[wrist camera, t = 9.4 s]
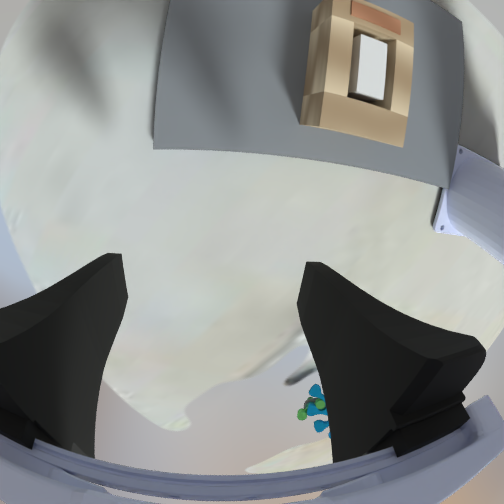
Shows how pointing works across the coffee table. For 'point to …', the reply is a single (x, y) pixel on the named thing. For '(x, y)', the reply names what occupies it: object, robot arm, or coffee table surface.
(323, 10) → the open rectangular tan frame
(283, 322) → the coffee table surface
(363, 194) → the coffee table surface
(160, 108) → the board
